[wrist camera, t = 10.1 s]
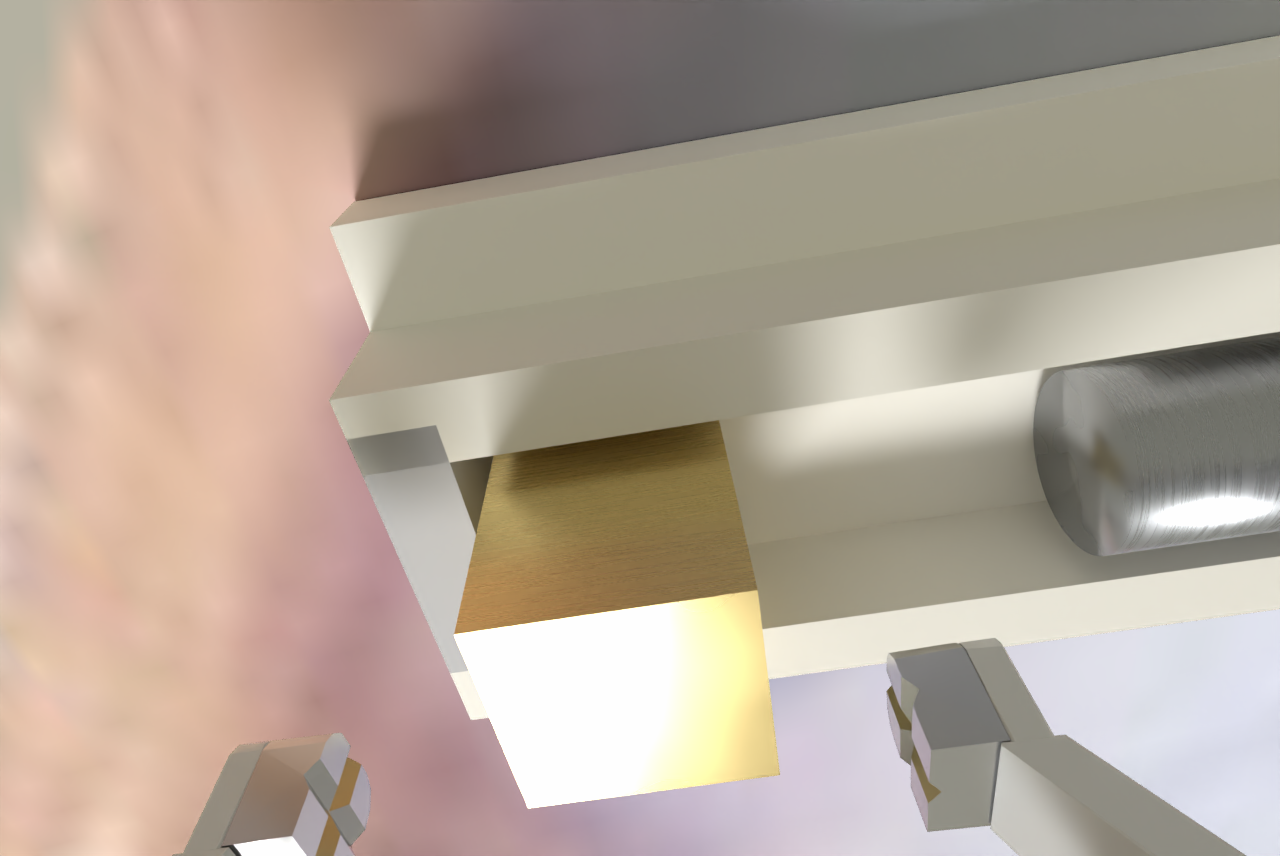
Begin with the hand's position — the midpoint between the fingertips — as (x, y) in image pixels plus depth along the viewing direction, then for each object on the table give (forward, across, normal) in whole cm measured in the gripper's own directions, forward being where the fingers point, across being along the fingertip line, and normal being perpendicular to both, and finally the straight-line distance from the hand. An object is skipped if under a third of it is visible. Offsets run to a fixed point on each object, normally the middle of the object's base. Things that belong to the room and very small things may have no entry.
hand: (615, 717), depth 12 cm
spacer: (+6, 0, 0) cm, 6 cm away
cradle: (+7, -7, 0) cm, 10 cm away
